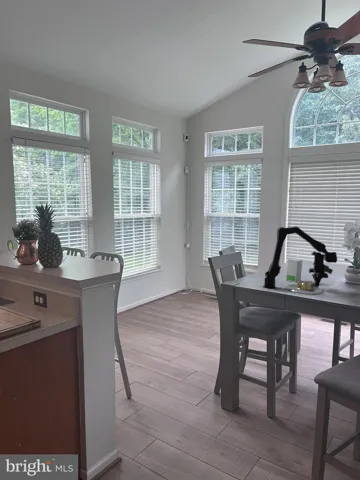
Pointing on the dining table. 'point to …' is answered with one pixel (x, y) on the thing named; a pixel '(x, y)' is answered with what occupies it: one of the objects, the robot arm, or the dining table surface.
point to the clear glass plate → (302, 291)
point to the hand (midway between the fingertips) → (317, 286)
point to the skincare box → (294, 270)
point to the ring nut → (306, 287)
